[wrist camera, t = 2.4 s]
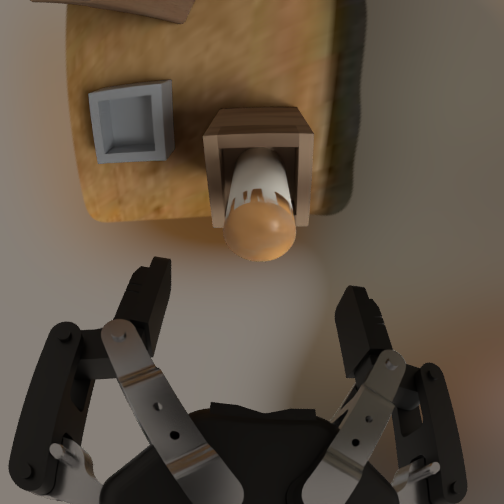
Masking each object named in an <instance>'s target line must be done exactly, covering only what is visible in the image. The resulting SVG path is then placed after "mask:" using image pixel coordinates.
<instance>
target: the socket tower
mask: <svg viewBox="0 0 504 504" xmlns="http://www.w3.org/2000/svg"><path fill="white" fill-rule="evenodd" d="M203 143H204V153H205V163H206V172H207V181H208V189H209V198H210V206H211V215H212V223H213V228H220V227H224V222H225V216H226V211H227V205H228V200H229V194H230V189H231V184H232V178H233V173H234V168H235V164H236V161H237V159H238V157H239V156H240V155H241V154H242V153H243V152H244V151H246V150H248V149H250V148H254V147H265V148H269V149H271V150H273V151H275V152H276V153H277V154H278V155H279V156H280V157H281V159H282V161H283V163H284V168H285V173H286V178H287V183H288V188H289V193H290V198H291V204H292V209H293V215H294V220H295V226H308V222H309V211H310V197H311V181H312V164H313V143H314V133H313V132H312V130H311V128H310V127H309V125H308V124H307V122H306V120H305V119H304V117H303V116H302V114H301V113H300V111H299V110H298V108H297V107H257V108H231V109H220V110H219V111H218V113H217V114H216V116H215V117H214V119H213V121H212V122H211V124H210V125H209V127H208V128H207V130H206V132H205V133H204V135H203Z"/></svg>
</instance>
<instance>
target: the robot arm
mask: <svg viewBox="0 0 504 504" xmlns="http://www.w3.org/2000/svg"><path fill="white" fill-rule="evenodd" d="M170 291H171V259H167V258H161V257H154V258H153V260H152V262H151V265H150V267H143V266H141V267H140V268H139V269H137V270H136V271H135V272H134V273H133V275H132V277H131V279H130V281H129V284H128V286H127V289H126V291H125V293H124V296H123V298H122V300H121V302H120V305H119V307H118V310H117V312H116V315H115V317H114V319H113V320H112V321H110V322H108V323H107V324H106V325H105V326H104V327H103V328H101V329H95V330H80V329H79V327H78V326H77V325H76V324H74V323H72V322H61V323H59V324H57V325H55V326H54V327H53V328H52V329H51V331H50V333H49V335H48V338H47V340H46V343H45V345H44V348H43V350H42V353H41V356H40V358H39V361H38V363H37V366H36V369H35V372H34V374H33V377H32V380H31V383H30V386H29V389H28V392H27V395H26V398H25V401H24V405H23V408H22V411H21V415H20V419H19V422H18V426H17V430H16V434H15V437H14V442H13V446H12V450H11V455H10V460H9V473H10V476H11V478H12V480H13V481H14V482H15V484H17V486H19V487H20V488H22V489H24V490H26V491H29V492H31V493H33V494H35V495H38V496H41V497H44V498H47V499H52V500H57V501H65V502H67V503H70V504H456V503H458V502H460V501H461V500H462V499H463V498H464V497H465V495H466V492H467V479H466V472H465V465H464V459H463V454H462V449H461V443H460V438H459V433H458V429H457V424H456V420H455V416H454V412H453V408H452V404H451V400H450V397H449V393H448V389H447V385H446V382H445V379H444V375H443V373H442V371H441V369H440V368H439V367H438V366H437V365H435V364H433V363H425V364H424V365H423V366H422V367H421V368H417V367H414V366H411V365H408V364H406V363H405V360H404V359H403V357H402V356H401V355H400V354H399V353H398V352H396V351H394V350H393V349H392V345H391V342H390V339H389V336H388V333H387V330H386V327H385V325H384V321H383V318H382V315H381V312H380V309H379V307H378V306H377V304H376V303H375V302H374V301H373V299H369V297H368V295H367V292H366V289H365V288H364V287H358V286H351V285H350V286H348V287H347V288H346V290H345V292H344V294H343V296H342V298H341V300H340V302H339V304H338V306H337V308H336V311H335V323H336V327H337V332H338V337H339V342H340V347H341V352H342V357H343V363H344V367H345V373H346V378H355V380H356V383H355V384H354V385H353V387H352V388H351V390H350V392H349V393H348V395H347V396H346V398H345V400H344V401H343V403H342V404H341V406H340V407H339V409H338V411H337V412H336V413H335V415H334V416H333V417H332V418H331V420H330V421H327V420H325V419H323V418H320V417H318V416H316V412H315V409H287V410H282V411H277V412H271V413H261V412H257V411H254V410H251V409H248V408H245V407H242V406H239V405H232V404H223V403H215V402H211V405H210V408H208V409H202V410H197V411H194V412H192V413H189V414H188V413H187V412H186V410H185V409H184V407H183V406H182V404H181V402H180V401H179V399H178V398H177V396H176V394H175V393H174V391H173V390H172V388H171V386H170V384H169V383H168V381H167V379H166V378H165V376H164V374H163V373H162V371H161V370H160V369H159V368H157V367H156V366H155V364H154V363H153V361H152V359H151V357H153V356H154V352H155V348H156V344H157V341H158V337H159V333H160V329H161V325H162V322H163V318H164V315H165V311H166V308H167V304H168V301H169V297H170ZM109 378H116V379H117V381H118V383H119V385H120V387H121V389H122V391H123V393H124V396H125V398H126V400H127V402H128V404H129V406H130V408H131V410H132V412H133V414H134V416H135V418H136V420H137V422H138V424H139V426H140V427H141V429H142V431H143V433H144V435H145V436H146V438H147V440H148V442H149V444H150V445H149V446H148V447H147V448H146V449H145V450H143V451H142V452H141V453H140V454H138V455H137V456H136V457H135V458H133V459H132V460H131V461H130V462H128V463H127V464H126V465H125V466H123V467H122V468H121V469H120V470H118V471H117V472H116V473H114V474H113V475H112V476H111V477H109V478H108V479H107V480H106V482H105V483H104V485H102V484H101V483H100V482H99V481H98V480H97V479H96V477H95V475H94V472H93V461H92V459H91V457H90V455H89V454H88V453H87V452H86V451H85V450H84V449H83V448H82V447H81V442H82V436H83V432H84V427H85V422H86V417H87V413H88V408H89V404H90V400H91V395H92V391H93V387H94V383H95V379H109ZM419 404H420V405H421V410H422V415H423V423H422V420H421V416H420V410H419ZM391 414H392V420H393V426H394V433H395V440H396V449H397V457H398V465H399V466H398V467H399V470H398V471H397V472H396V474H395V477H394V480H393V481H392V483H391V484H390V483H389V482H388V481H387V480H386V479H385V478H384V477H383V476H382V475H381V474H380V473H379V472H378V471H377V470H376V469H375V468H374V467H373V465H371V464H370V462H369V461H368V459H369V457H370V456H371V454H372V452H373V450H374V448H375V446H376V444H377V442H378V440H379V438H380V437H381V434H382V433H383V431H384V428H385V426H386V424H387V422H388V420H389V418H390V416H391Z"/></svg>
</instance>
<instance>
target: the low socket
mask: <svg viewBox="0 0 504 504" xmlns="http://www.w3.org/2000/svg"><path fill="white" fill-rule="evenodd" d="M88 95H89V105H90V113H91V121H92V129H93V136H94V143H95V149H96V155H97V161H98V164H103V163H118V162H136V161H165V160H167V159H168V157H169V156H170V155H171V153H172V152H173V151H174V149H175V143H174V126H173V106H172V80H161V81H150V82H141V83H133V84H126V85H119V86H112V87H106V88H102V89H99V90H97V91H94V92H91V93H89V94H88Z"/></svg>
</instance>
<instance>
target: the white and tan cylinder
mask: <svg viewBox="0 0 504 504" xmlns="http://www.w3.org/2000/svg"><path fill="white" fill-rule="evenodd" d="M223 235H224V239H225V242H226V244H227V246H228V247H229V248H230V249H231V250H232V252H234V253H235V254H236V255H238V256H239V257H241V258H244V259H246V260H250V261H256V262H257V261H258V262H259V261H260V262H263V261H269V260H273V259H276V258H278V257H280V256H282V255H283V254H285V253H286V252H287V251H288V250H289V249H290V247H291V246H292V245H293V243H294V241H295V237H296V226H295V220H294V215H293V209H292V204H291V198H290V193H289V188H288V183H287V178H286V173H285V168H284V163H283V161H282V159H281V157H280V156H279V155H278V154H277V153H276V152H275V151H273V150H271V149H269V148H265V147H254V148H250V149H248V150H246V151H244V152H243V153H242V154H241V155H240V156H239V157H238V159H237V161H236V164H235V168H234V173H233V178H232V184H231V189H230V194H229V200H228V205H227V211H226V216H225V222H224V228H223Z"/></svg>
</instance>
